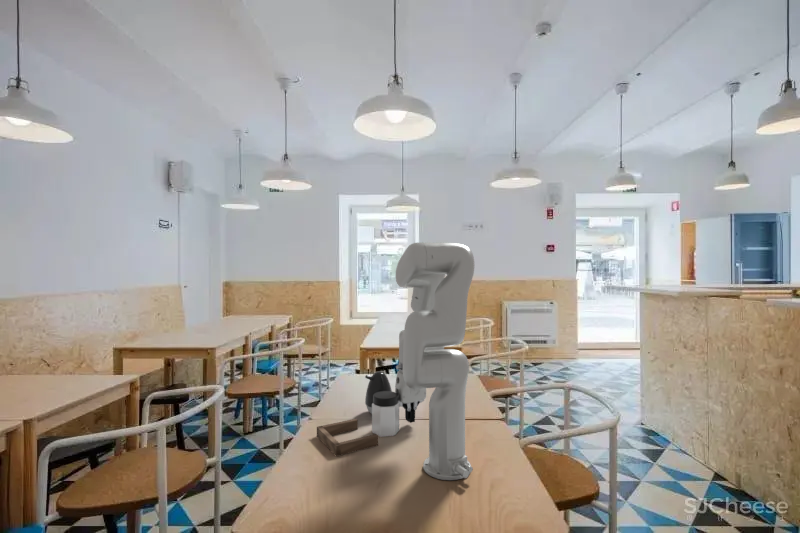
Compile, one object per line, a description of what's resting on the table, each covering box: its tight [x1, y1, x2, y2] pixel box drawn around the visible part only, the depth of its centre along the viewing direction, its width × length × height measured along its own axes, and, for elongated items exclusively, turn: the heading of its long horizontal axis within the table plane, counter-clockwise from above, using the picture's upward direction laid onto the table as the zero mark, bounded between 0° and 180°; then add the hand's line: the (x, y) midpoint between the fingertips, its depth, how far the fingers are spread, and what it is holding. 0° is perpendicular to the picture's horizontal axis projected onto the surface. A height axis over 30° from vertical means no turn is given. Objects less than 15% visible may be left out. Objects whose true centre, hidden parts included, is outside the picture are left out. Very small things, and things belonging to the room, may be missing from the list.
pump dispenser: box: [364, 370, 393, 415], centre depth 151 cm, size 10×10×15 cm
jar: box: [371, 391, 400, 438], centre depth 134 cm, size 9×8×12 cm
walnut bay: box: [316, 418, 379, 457], centre depth 127 cm, size 16×14×3 cm
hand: (410, 421), depth 139 cm, fingers closed
